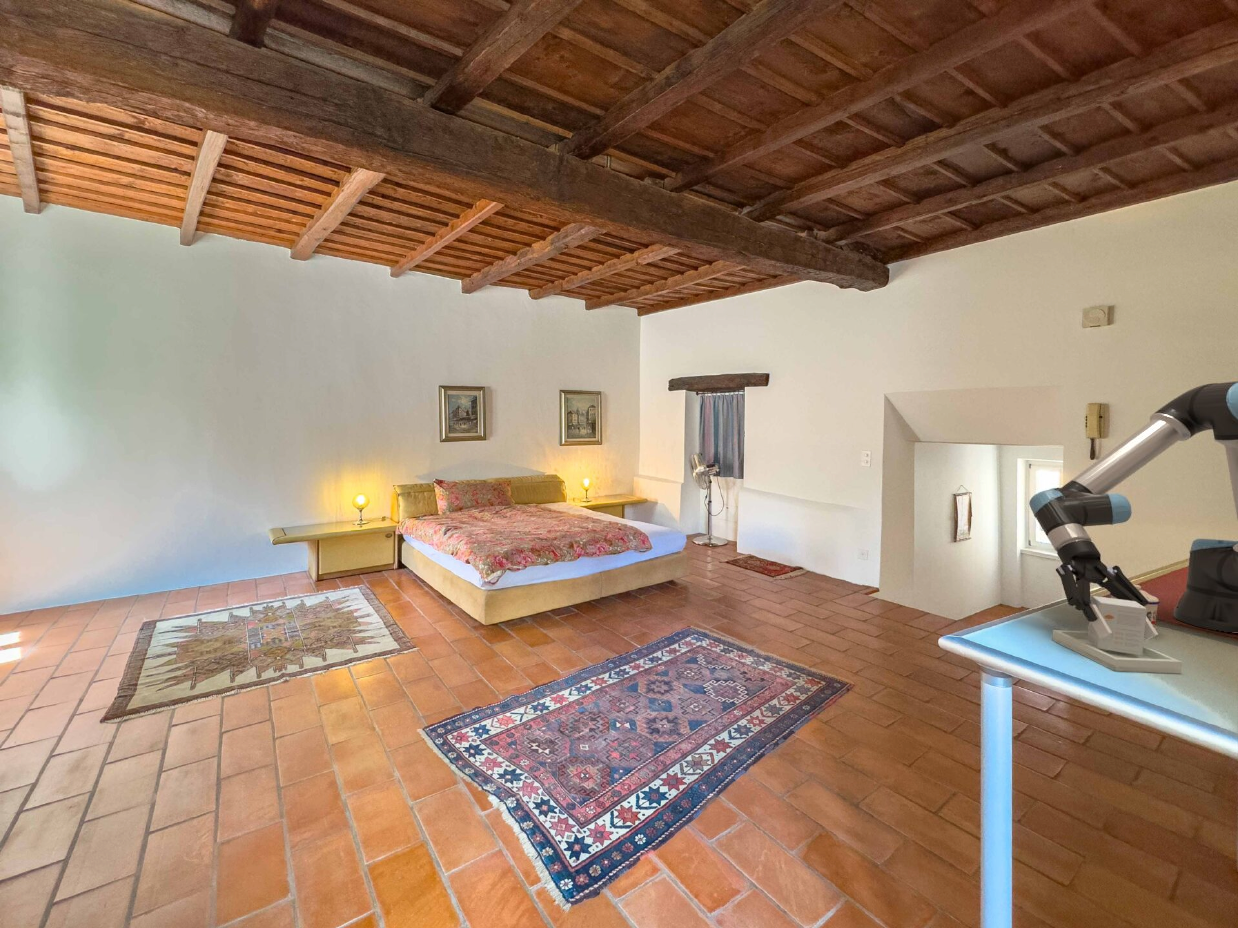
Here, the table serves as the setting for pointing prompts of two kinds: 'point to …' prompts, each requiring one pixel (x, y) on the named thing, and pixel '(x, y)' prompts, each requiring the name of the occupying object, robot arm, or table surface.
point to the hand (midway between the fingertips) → (1128, 635)
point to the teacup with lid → (1151, 606)
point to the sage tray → (1117, 655)
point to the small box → (1120, 625)
